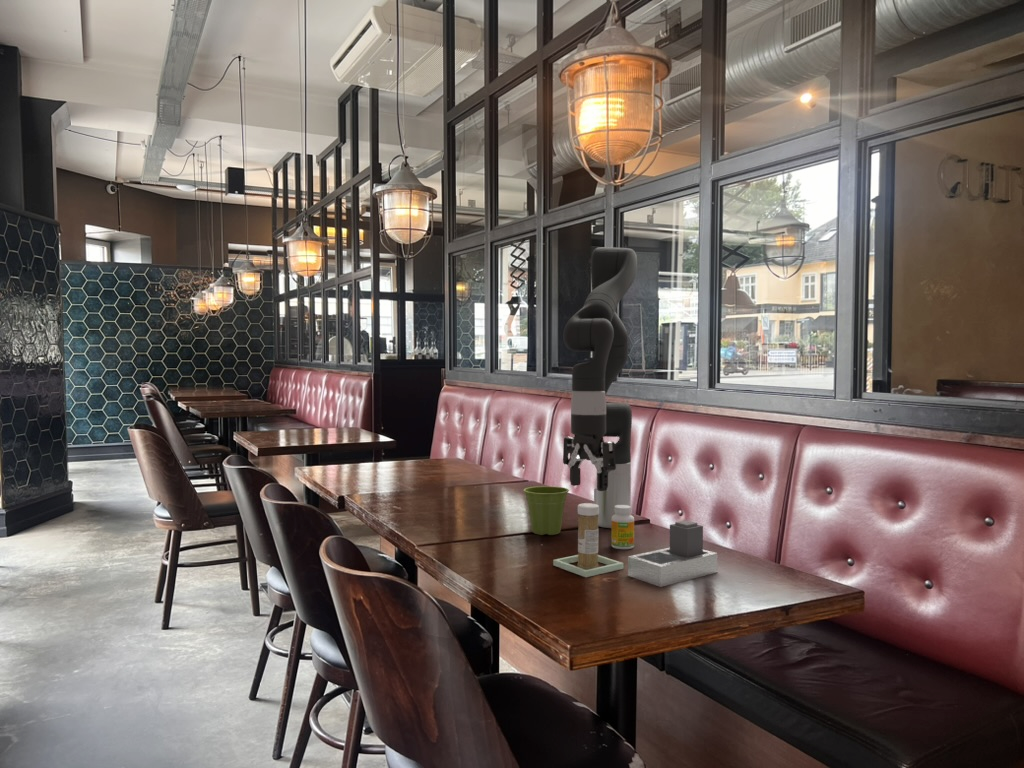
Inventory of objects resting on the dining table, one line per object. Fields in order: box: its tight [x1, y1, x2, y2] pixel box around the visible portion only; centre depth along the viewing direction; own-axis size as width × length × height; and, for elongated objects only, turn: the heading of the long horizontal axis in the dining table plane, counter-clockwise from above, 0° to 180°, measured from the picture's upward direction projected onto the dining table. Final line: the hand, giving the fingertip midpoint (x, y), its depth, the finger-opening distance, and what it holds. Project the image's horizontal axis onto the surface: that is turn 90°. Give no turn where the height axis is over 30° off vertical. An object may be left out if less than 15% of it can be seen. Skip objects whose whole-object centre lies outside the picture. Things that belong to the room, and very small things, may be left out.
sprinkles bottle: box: [577, 502, 599, 570], centre depth 149 cm, size 5×5×14 cm
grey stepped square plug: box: [669, 519, 704, 558], centre depth 147 cm, size 5×5×10 cm
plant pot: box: [523, 485, 570, 536], centre depth 181 cm, size 12×12×11 cm
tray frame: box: [552, 554, 624, 578], centre depth 150 cm, size 11×11×1 cm
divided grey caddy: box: [627, 546, 718, 588], centre depth 144 cm, size 9×17×4 cm, turn 125°
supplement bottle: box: [610, 505, 635, 550], centre depth 166 cm, size 5×5×10 cm
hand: (588, 487), depth 149 cm, fingers open, 8 cm apart
